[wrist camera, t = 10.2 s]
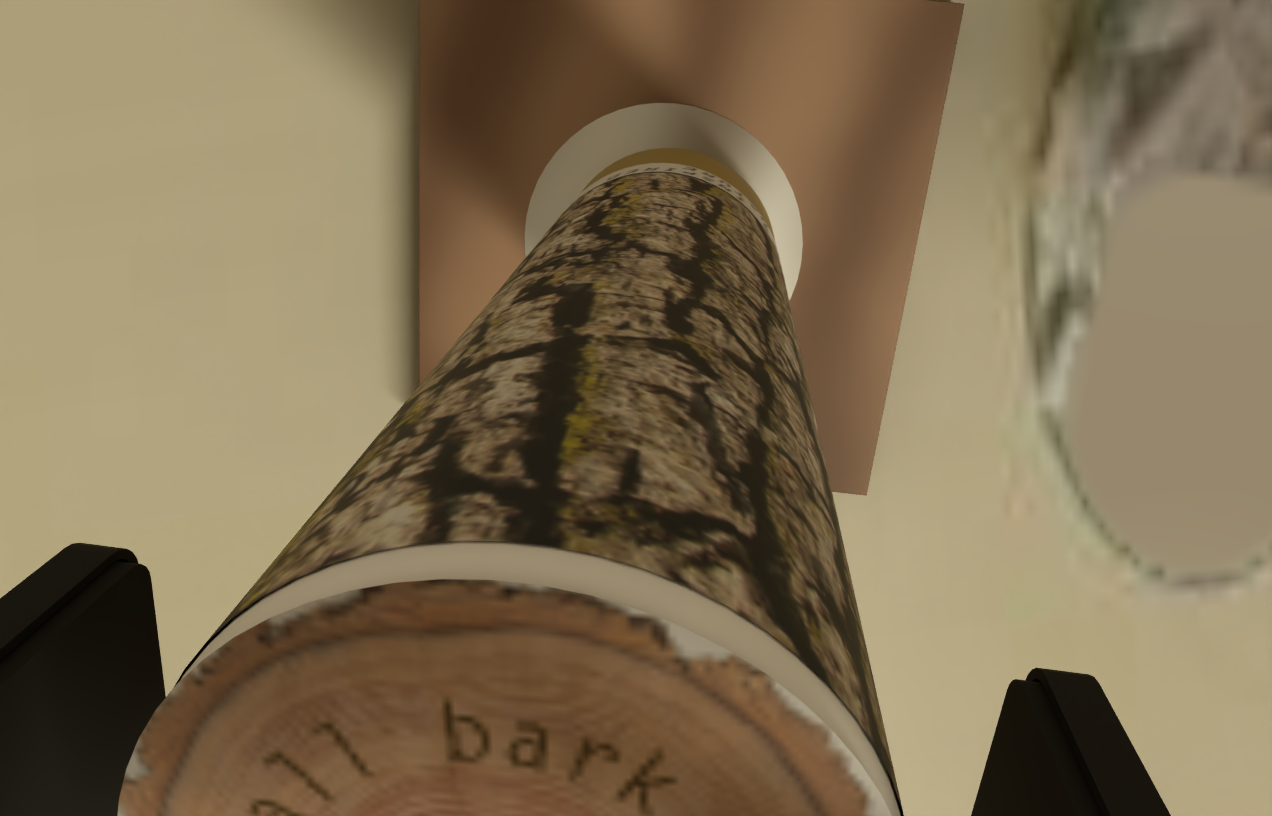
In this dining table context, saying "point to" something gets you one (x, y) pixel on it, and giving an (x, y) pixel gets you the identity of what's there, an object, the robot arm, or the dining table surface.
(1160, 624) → the dining table surface
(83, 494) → the dining table surface
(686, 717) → the bark print can
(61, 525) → the dining table surface
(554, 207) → the board
